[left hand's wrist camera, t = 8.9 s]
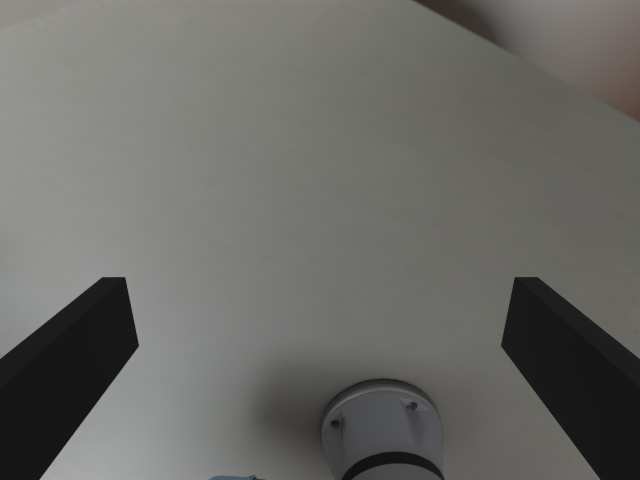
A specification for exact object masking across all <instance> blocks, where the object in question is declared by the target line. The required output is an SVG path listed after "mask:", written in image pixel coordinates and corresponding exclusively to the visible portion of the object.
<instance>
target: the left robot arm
mask: <svg viewBox="0 0 640 480" xmlns="http://www.w3.org/2000/svg"><path fill="white" fill-rule="evenodd" d="M138 347H139V344H138V339H137V334H136V329H135V324H134V319H133V314H132V309H131V304H130V299H129V294H128V289H127V284H126V279H125V277H102V278H101V279H100V280H98V281H97V282H96V283H95V284H93V285H92V286H91V287H90V288H88V289H87V290H86V291H85V292H83V293H82V294H81V295H80V296H78V297H77V298H76V299H75V300H73V301H72V302H71V303H70V304H68V305H67V306H66V307H65V308H63V309H62V310H61V311H60V312H58V313H57V314H56V315H55V316H53V317H52V318H51V319H50V320H48V321H47V322H46V323H45V324H43V325H42V326H41V327H40V328H38V329H37V330H36V331H35V332H33V333H32V334H31V335H30V336H28V337H27V338H26V339H25V340H23V341H22V342H21V343H20V344H18V345H17V346H16V347H15V348H13V349H12V350H11V351H10V352H8V353H7V354H6V355H5V356H3V357H2V358H1V359H0V480H40V478H41V477H42V475H43V474H44V473H45V471H46V470H47V469H48V467H49V466H50V465H51V463H52V462H53V461H54V459H55V458H56V457H57V455H58V454H59V453H60V451H61V450H62V449H63V447H64V446H65V445H66V443H67V442H68V441H69V439H70V438H71V437H72V435H73V434H74V433H75V431H76V430H77V429H78V427H79V426H80V424H81V423H82V422H83V420H84V419H85V418H86V416H87V415H88V414H89V412H90V411H91V410H92V408H93V407H94V406H95V404H96V403H97V402H98V400H99V399H100V398H101V396H102V395H103V394H104V392H105V391H106V390H107V388H108V387H109V386H110V384H111V383H112V382H113V380H114V379H115V378H116V376H117V375H118V373H119V372H120V371H121V369H122V368H123V367H124V365H125V364H126V363H127V361H128V360H129V359H130V357H131V356H132V355H133V353H134V352H135V351H136V349H137V348H138ZM501 347H502V348H503V349H504V351H505V352H506V353H507V355H508V356H509V357H510V359H511V360H512V361H513V363H514V364H515V365H516V367H517V368H518V369H519V371H520V372H521V373H522V375H523V376H524V378H525V379H526V380H527V382H528V383H529V384H530V386H531V387H532V388H533V390H534V391H535V392H536V394H537V395H538V396H539V398H540V399H541V400H542V402H543V403H544V404H545V406H546V407H547V408H548V410H549V411H550V412H551V414H552V415H553V416H554V418H555V419H556V420H557V422H558V423H559V424H560V426H561V427H562V429H563V430H564V431H565V433H566V434H567V435H568V437H569V438H570V439H571V441H572V442H573V443H574V445H575V446H576V447H577V449H578V450H579V451H580V453H581V454H582V455H583V457H584V458H585V459H586V461H587V462H588V463H589V465H590V466H591V467H592V469H593V470H594V471H595V473H596V474H597V475H598V477H599V478H600V480H640V359H639V358H638V357H637V356H635V355H634V354H633V353H632V352H630V351H629V350H628V349H627V348H625V347H624V346H623V345H622V344H620V343H619V342H618V341H617V340H615V339H614V338H613V337H612V336H610V335H609V334H608V333H607V332H605V331H604V330H603V329H602V328H600V327H599V326H598V325H597V324H595V323H594V322H593V321H592V320H590V319H589V318H588V317H587V316H585V315H584V314H583V313H582V312H580V311H579V310H578V309H577V308H575V307H574V306H573V305H572V304H570V303H569V302H568V301H567V300H565V299H564V298H563V297H562V296H560V295H559V294H558V293H557V292H555V291H554V290H553V289H552V288H550V287H549V286H548V285H547V284H545V283H544V282H543V281H542V280H540V279H539V278H538V277H515V279H514V284H513V289H512V294H511V299H510V304H509V309H508V314H507V319H506V324H505V329H504V334H503V339H502V344H501ZM321 440H322V447H323V450H324V453H325V455H326V458H327V461H328V463H329V466H330V468H331V471H332V474H333V476H334V479H335V480H445V479H444V476H443V427H442V423H441V420H440V417H439V415H438V412H437V409H436V407H435V405H434V404H433V402H432V401H431V399H430V398H429V397H428V396H427V395H426V394H425V393H423V392H422V391H421V390H419V389H418V388H416V387H414V386H412V385H409V384H407V383H403V382H399V381H393V380H374V381H368V382H363V383H360V384H357V385H354V386H352V387H350V388H348V389H346V390H345V391H343V392H342V393H340V394H339V395H338V396H337V397H335V398H334V399H333V401H332V402H331V403H330V404H329V406H328V407H327V409H326V411H325V413H324V415H323V418H322V425H321ZM209 480H263V479H256V476H253V475H251V476H249V477H234V476H215V477H212V478H210V479H209Z"/></svg>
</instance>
